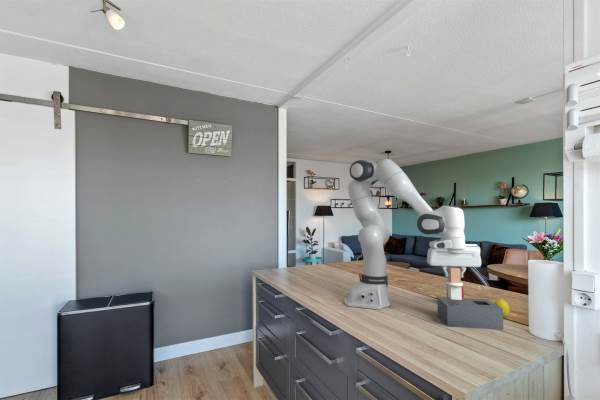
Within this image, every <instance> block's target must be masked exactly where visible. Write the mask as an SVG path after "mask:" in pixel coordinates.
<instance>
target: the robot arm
mask: <svg viewBox="0 0 600 400" xmlns="http://www.w3.org/2000/svg"><path fill="white" fill-rule="evenodd" d="M349 175H350V177H351V179H352V181H350V182H349V183H348V185H347V190H348V191H347V192H348V196H349V200H350V202H351V206H352V208H353V212H354V215H355V218H356V219H357V220H358V221H359V223H360V224H361V226H362V228H361V229H360V230H359V231H358V234H357V239H358V242H359V243H360V248H361V253H362V256H363V258H362V259H363V273H358V278H359V281H358V282H357V283H356V284H354V285H353V286H351V287H350V289H349V291H348V295H347V296H345V297H344V299H343V303H344V305H346V306H347V307H354V308H355V307H356V308H363V309H370V310H382V309H383V308H388V307H390V306H391V301H390V296H389V291H388V286H389V278H388V275H387V271H388V269H387V257H386V254H385V251H384V250H385V249H384V245H385V244H386V243H387V242H388V241H389V239H390V231H389V229H388V227H387V226H386V224H385V222H384V221H383V218H382V217H381V215H380V212H379V211H378V209H377V206H376V204H375V201H374V198H373V195H372V192H371V190H370V186H373V185H375V184H376V183H377V182H378V181H379V182H381V184H382V185H383V187H384V188H385V189H386V190H387V191H388V192H389V193H390V194H391V195H392V196H393V197H395V198H397V199H400V200H402V201H404V202H406V203H407V204H408V205H410V206H411V208H412V209H413V210H414V211H415V212H416V213H417V214H418V216H419V217H418V218H417V221H416V227H417V229H418V231H419V232H420V233H421V234H423V235H426V236H431V235H432V236H433V235H434V236H435V235H440V238H439V239H436V240H432V241H430V242H429V247H430V248H428V250H427V254H426V255H427V256H426V262H427V264H428V265H429V266H432V267H441V268H442V271H443V272H444V277H446V278H448V277H450V273H449V272H448V267H458V268H460V279H463V278H464V273H465V272H466V270H467V268H481V266H482V257H481V247H480V246H479V245H478V244H476V243H466V236H465V235H466V234H465V228H466V227H465V226H466V225H465V224H466V223H465V222H466V221H465V214H464V211H463V208H462V207H459V206H458V205H457V206H456V205H449V204H444V205H442V206H441V207H438V208H437V209H435V210H434V209H433V208H432V207H431V206H430V205H429V204H428V202H427V201H425V199H424V198H423V197H422V196H421V195H420V193H419V192H418V190H417V189H416V187H415V186H414V185H413V182H412V181H411V180H410V178H409V176H408V175H407V174H406V173H405V172H404V170H403V169H402V168H401V167H400V166H399V165H398V164H397V163H396V162H395V161H393V160H392V159H390V158H384V159H381V160H380V161H378V162H376V161H373V160H367V159H366V160H363V159H360V160H359V159H358V160H355V161H353V162H352V164H351V165H350V167H349Z"/></svg>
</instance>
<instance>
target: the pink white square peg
mask: <svg viewBox="0 0 600 400" xmlns="http://www.w3.org/2000/svg"><path fill="white" fill-rule="evenodd" d="M460 271H461V268H460V267H456V266H447V272H449V273H450V277H447V280H445V285H446V291H447V290H448V297H449V298H450V299H455V300H462V290H461V287H462V286H463V287H464V283H463V282H462V281H461V279H462V278H460Z"/></svg>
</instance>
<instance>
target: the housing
mask: <svg viewBox="0 0 600 400" xmlns="http://www.w3.org/2000/svg"><path fill="white" fill-rule="evenodd" d="M436 301H437V302H436V303H437V304H436V305H437V308H436V309H437V316H438V318H439V319H440V320H441V321H442V322H443V324H445V326H446V327H448V328H449V327H452V328H467V329H468V328H469V329H470V328H471V329H482V330H483V329H484V330H485V329H486V330H502V331H503V330H504V318H503V308H501V307H499V306H498V305H496V304H494V303H495V302H492V301H491V300H489V299H487V298H469V297H468V298H467V297H466V298H465V297H464V298H462V300H455V299H450V298H449V297H447V296H445V297H444V296H442V297H441V296H436Z"/></svg>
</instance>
